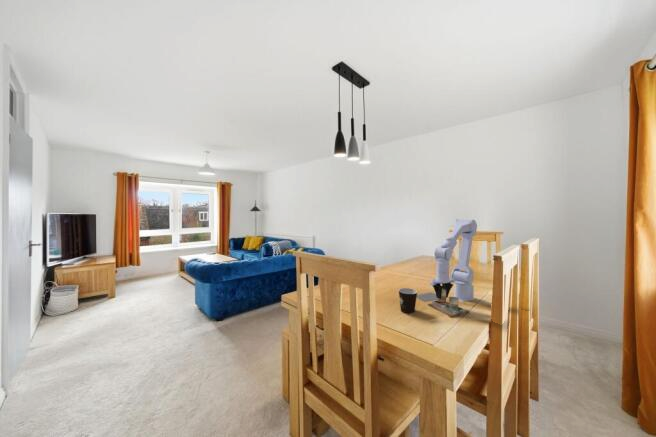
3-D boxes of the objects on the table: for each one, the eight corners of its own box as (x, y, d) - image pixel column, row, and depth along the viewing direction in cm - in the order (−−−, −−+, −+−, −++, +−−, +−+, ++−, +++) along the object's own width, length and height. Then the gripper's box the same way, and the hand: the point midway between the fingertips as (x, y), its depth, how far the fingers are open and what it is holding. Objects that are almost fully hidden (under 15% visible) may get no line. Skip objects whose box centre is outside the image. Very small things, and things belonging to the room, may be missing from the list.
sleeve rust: (448, 302, 123) (448, 290, 123) (441, 303, 121) (442, 291, 121) (441, 299, 127) (441, 288, 126) (435, 300, 125) (435, 289, 125)
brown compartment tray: (445, 302, 129) (445, 298, 129) (469, 313, 116) (469, 308, 116) (427, 305, 125) (427, 301, 125) (450, 317, 112) (450, 312, 112)
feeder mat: (431, 293, 144) (431, 292, 144) (444, 299, 134) (444, 298, 134) (412, 296, 139) (412, 295, 139) (425, 302, 129) (425, 301, 129)
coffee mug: (418, 315, 114) (418, 294, 113) (399, 314, 115) (399, 293, 115) (414, 305, 125) (414, 286, 125) (397, 304, 127) (397, 285, 126)
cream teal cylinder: (460, 311, 116) (460, 298, 116) (453, 312, 115) (454, 300, 114) (453, 307, 120) (453, 296, 120) (446, 309, 119) (447, 297, 118)
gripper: (447, 268, 129) (446, 293, 130) (425, 270, 124) (425, 296, 125) (458, 271, 123) (457, 297, 123) (436, 274, 118) (435, 301, 118)
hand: (442, 297), depth 124 cm, fingers closed on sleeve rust, 4 cm apart
